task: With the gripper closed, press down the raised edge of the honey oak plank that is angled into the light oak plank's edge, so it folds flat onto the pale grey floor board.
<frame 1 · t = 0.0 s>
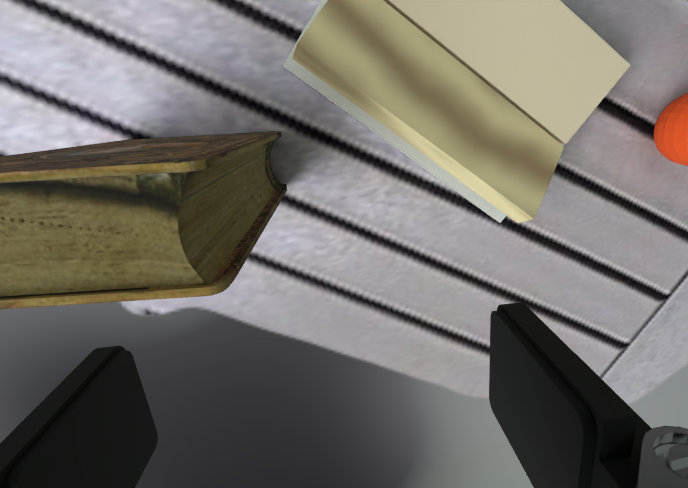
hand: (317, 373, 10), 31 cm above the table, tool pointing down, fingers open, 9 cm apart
book: (204, 164, 39), on the table
clementine: (671, 130, 40), on the table
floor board: (453, 67, 37), on the table
honey plank: (438, 106, 33), point 5 cm above the table, hinge at 30.0°
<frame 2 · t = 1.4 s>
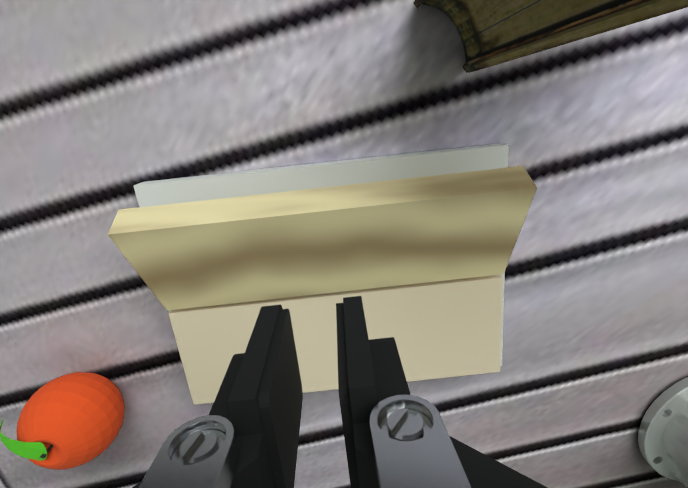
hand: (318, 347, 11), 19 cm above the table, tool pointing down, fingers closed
clementine: (93, 386, 34), on the table
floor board: (334, 276, 31), on the table
honey plank: (328, 244, 25), point 5 cm above the table, hinge at 30.0°
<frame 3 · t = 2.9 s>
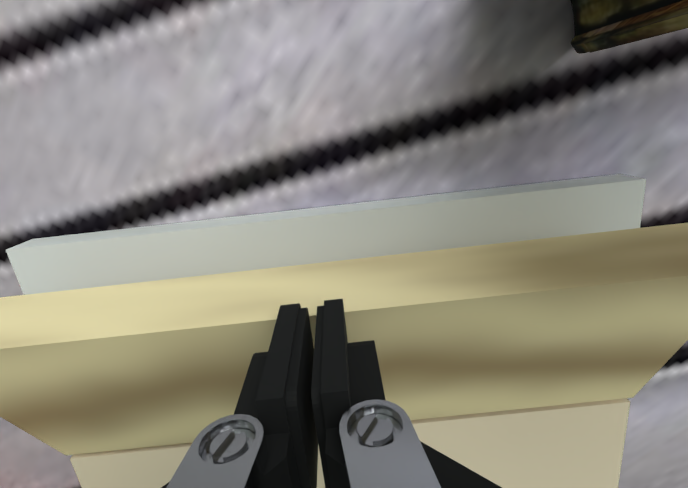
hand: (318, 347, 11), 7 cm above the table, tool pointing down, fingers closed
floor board: (345, 378, 20), on the table
honey plank: (334, 356, 14), point 4 cm above the table, hinge at 25.8°, touching gripper
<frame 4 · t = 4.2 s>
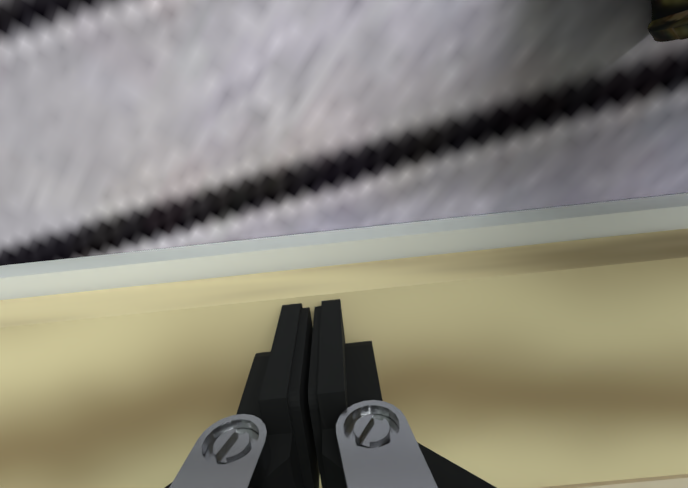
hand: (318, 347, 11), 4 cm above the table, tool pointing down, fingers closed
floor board: (356, 430, 17), on the table
honey plank: (347, 388, 13), point 3 cm above the table, hinge at 1.6°, touching gripper
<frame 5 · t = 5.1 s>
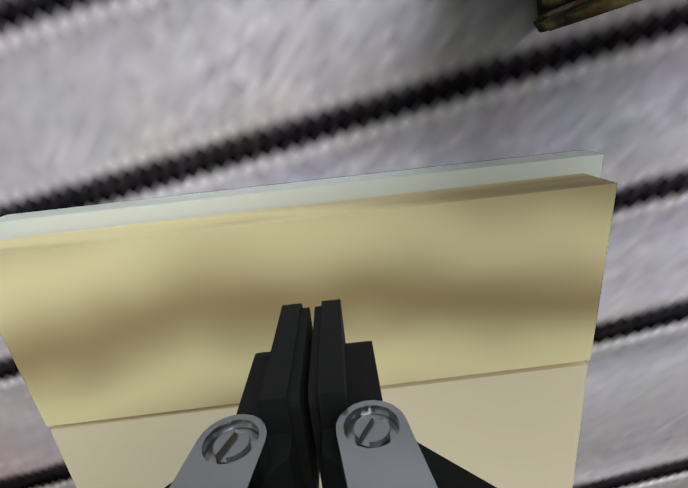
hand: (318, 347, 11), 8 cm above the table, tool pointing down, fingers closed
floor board: (322, 350, 21), on the table
honey plank: (310, 302, 17), point 3 cm above the table, hinge at 1.6°
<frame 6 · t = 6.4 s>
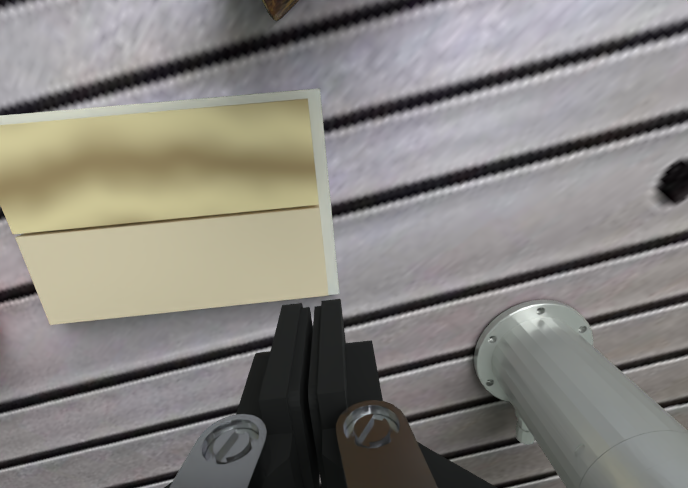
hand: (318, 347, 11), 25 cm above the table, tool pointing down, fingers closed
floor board: (183, 210, 35), on the table
honey plank: (159, 166, 31), point 3 cm above the table, hinge at 1.6°
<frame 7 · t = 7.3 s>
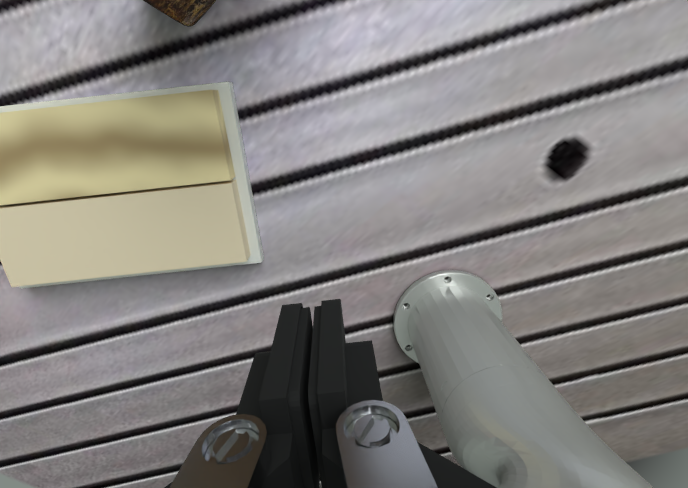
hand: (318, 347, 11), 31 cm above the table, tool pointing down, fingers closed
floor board: (124, 190, 40), on the table
honey plank: (96, 149, 37), point 3 cm above the table, hinge at 1.6°
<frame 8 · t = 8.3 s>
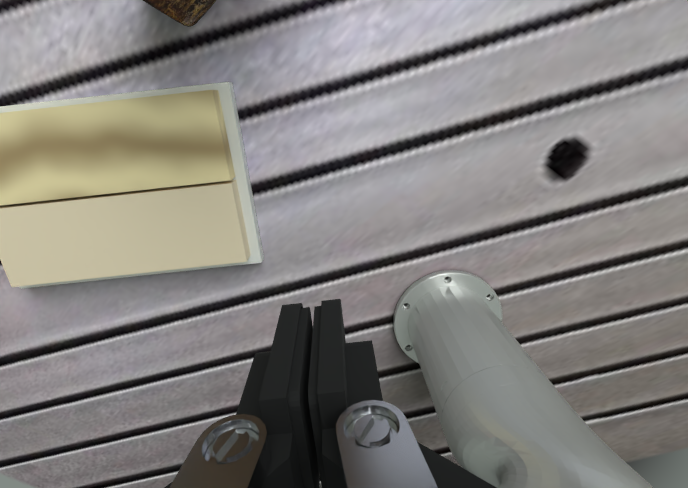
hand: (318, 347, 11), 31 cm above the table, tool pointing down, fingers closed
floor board: (124, 190, 41), on the table
honey plank: (96, 149, 37), point 3 cm above the table, hinge at 1.6°
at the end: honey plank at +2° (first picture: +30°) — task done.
